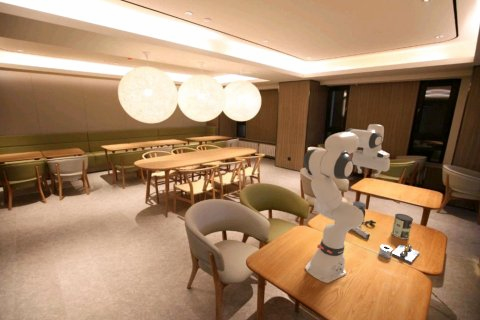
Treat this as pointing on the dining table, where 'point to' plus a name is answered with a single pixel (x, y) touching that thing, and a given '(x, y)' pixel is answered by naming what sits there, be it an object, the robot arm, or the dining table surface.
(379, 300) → the dining table surface
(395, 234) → the coffee can
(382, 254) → the coupling
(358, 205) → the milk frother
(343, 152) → the robot arm
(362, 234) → the grey brown bar
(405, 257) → the valve base
